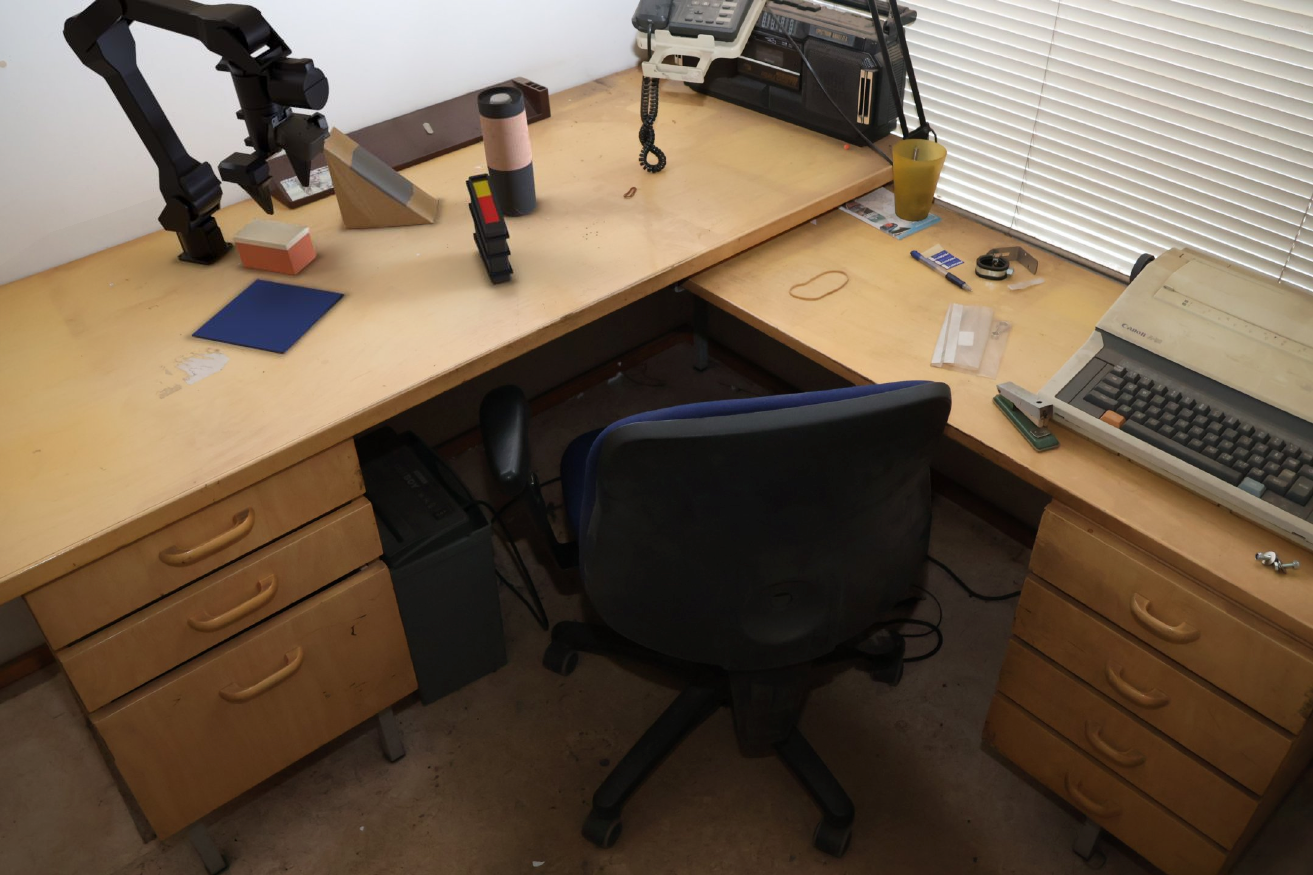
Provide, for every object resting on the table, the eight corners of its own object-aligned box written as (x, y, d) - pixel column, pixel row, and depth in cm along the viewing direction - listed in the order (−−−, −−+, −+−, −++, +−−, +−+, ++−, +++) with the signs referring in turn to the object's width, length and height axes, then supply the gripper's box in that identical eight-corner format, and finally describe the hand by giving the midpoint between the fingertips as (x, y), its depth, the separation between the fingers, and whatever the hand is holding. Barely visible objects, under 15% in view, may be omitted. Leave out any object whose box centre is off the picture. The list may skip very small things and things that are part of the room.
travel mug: (495, 198, 178) (477, 87, 165) (538, 195, 178) (523, 84, 165) (493, 219, 172) (474, 106, 159) (538, 216, 173) (523, 102, 159)
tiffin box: (242, 267, 164) (231, 236, 160) (265, 248, 168) (255, 218, 164) (295, 275, 161) (285, 245, 157) (317, 256, 165) (308, 226, 162)
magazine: (493, 230, 166) (489, 170, 152) (514, 296, 161) (512, 240, 147) (471, 235, 165) (465, 175, 151) (491, 301, 160) (487, 245, 147)
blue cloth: (192, 336, 149) (191, 334, 149) (257, 280, 160) (257, 279, 160) (282, 353, 145) (282, 352, 144) (343, 295, 156) (343, 293, 156)
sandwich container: (434, 224, 172) (416, 141, 162) (344, 229, 172) (321, 147, 162) (439, 200, 178) (423, 119, 169) (353, 205, 178) (331, 124, 168)
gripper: (268, 135, 136) (297, 237, 146) (344, 83, 149) (366, 180, 159) (200, 125, 138) (233, 226, 149) (280, 75, 152) (306, 170, 162)
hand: (288, 200), depth 155 cm, fingers open, 9 cm apart
